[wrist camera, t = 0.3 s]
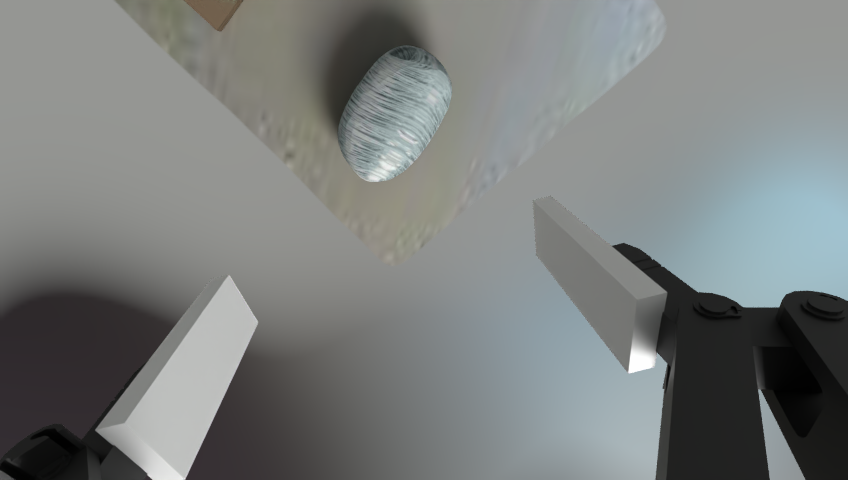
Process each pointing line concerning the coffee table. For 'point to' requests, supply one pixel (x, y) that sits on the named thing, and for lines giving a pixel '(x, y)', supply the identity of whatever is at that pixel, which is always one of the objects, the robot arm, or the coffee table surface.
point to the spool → (394, 113)
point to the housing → (215, 10)
